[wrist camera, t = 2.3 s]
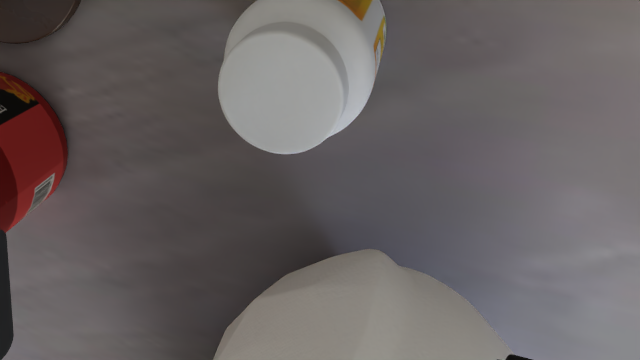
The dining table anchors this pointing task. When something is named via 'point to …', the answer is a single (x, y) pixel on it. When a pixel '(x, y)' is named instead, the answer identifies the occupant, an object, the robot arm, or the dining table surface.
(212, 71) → the dining table surface
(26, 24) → the coaster
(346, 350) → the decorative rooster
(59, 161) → the canned food
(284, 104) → the supplement bottle
